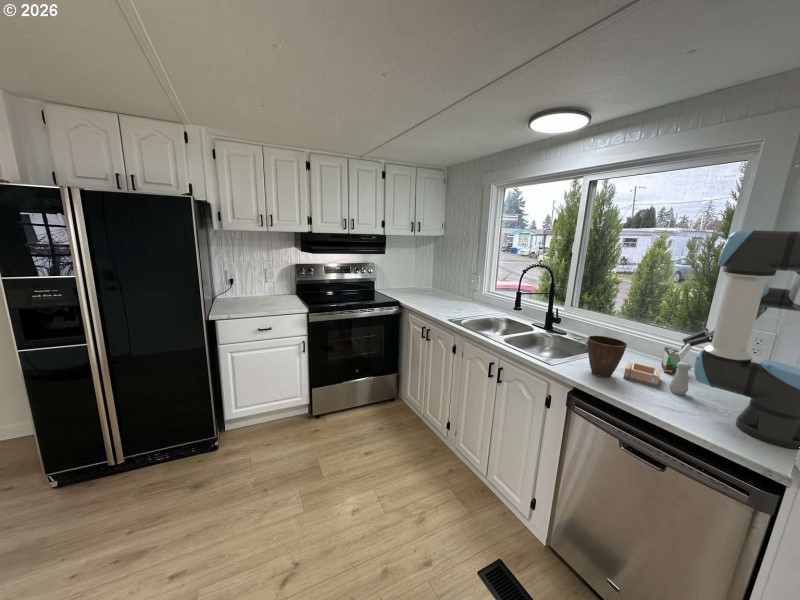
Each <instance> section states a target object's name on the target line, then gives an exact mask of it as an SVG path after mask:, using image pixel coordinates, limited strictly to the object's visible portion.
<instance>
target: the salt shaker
mask: <svg viewBox="0 0 800 600" xmlns="http://www.w3.org/2000/svg"><path fill="white" fill-rule="evenodd" d="M677 367H678V368H677V371H676V373H675V374H674V375H673V377H672V379H671V381H670V383H669V389H670V390H669V391H671V393H673V394H675V395H678V396H685V394H687V392H689V371H691V369H692V365H691V364H690V363H689V362H688V363H687V362H683V361H680V362H678V363H677Z"/></svg>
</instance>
